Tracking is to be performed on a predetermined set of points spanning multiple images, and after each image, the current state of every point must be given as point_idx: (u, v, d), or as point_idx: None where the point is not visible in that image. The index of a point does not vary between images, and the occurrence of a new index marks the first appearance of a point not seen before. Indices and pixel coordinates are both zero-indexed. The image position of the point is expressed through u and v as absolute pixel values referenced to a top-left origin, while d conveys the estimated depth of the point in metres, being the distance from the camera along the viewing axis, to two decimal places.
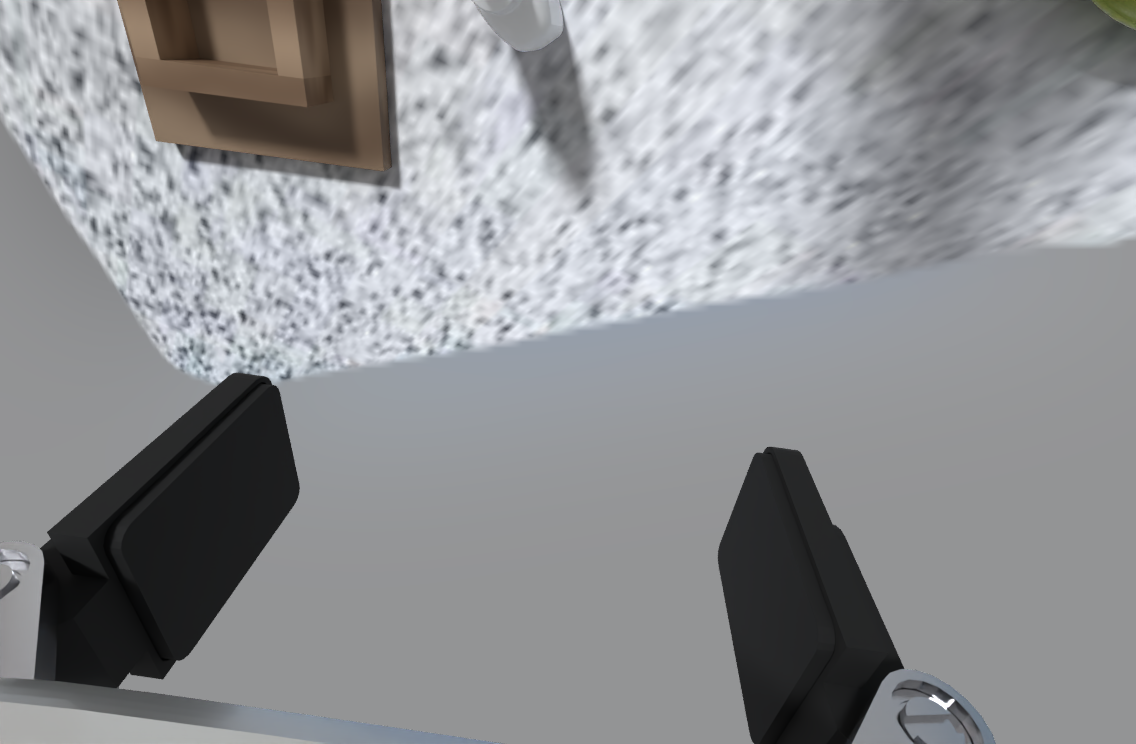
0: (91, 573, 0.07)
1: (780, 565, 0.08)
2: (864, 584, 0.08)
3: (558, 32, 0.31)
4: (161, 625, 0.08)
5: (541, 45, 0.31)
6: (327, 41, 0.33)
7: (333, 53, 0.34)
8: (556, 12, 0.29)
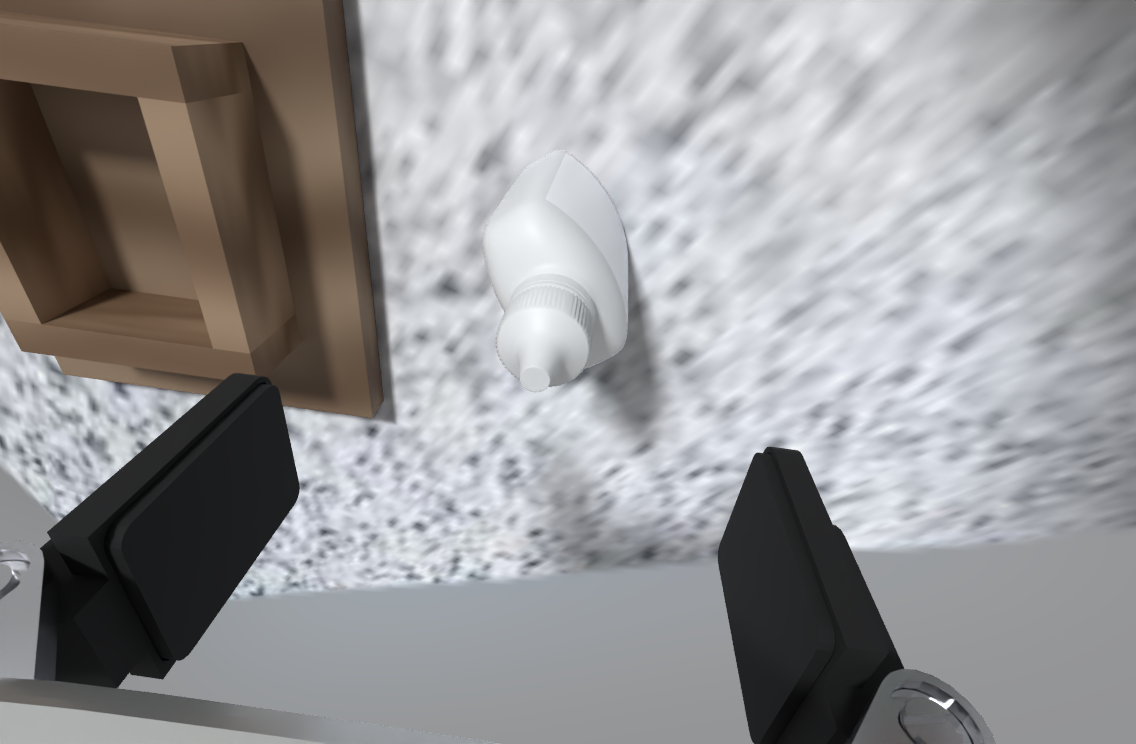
0: (91, 573, 0.07)
1: (780, 565, 0.08)
2: (864, 584, 0.08)
3: None
4: (161, 625, 0.08)
5: None
6: (287, 275, 0.23)
7: (297, 289, 0.24)
8: (627, 280, 0.19)
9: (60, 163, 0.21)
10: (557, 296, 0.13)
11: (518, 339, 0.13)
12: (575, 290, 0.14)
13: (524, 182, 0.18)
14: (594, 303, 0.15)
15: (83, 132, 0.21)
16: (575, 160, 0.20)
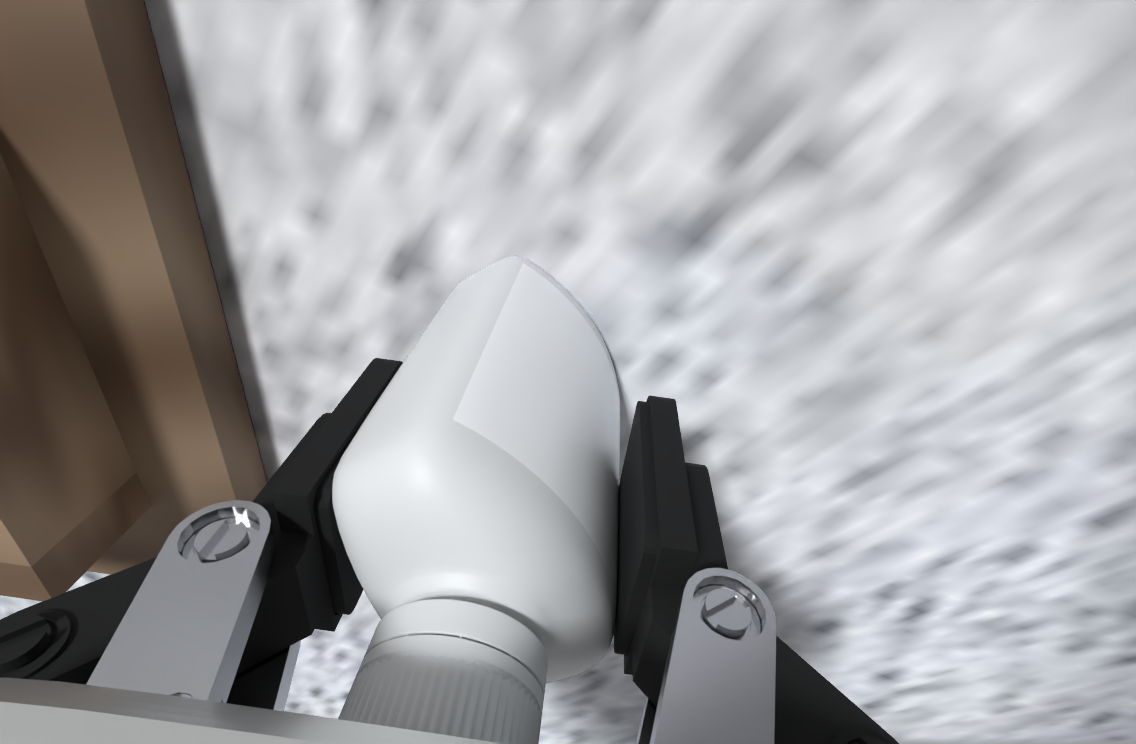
0: (300, 530, 0.08)
1: (637, 492, 0.09)
2: (714, 511, 0.09)
3: None
4: (342, 580, 0.09)
5: None
6: (115, 425, 0.16)
7: (134, 443, 0.16)
8: (617, 480, 0.12)
9: None
10: (449, 711, 0.06)
11: None
12: (501, 644, 0.07)
13: (438, 339, 0.10)
14: (548, 630, 0.08)
15: None
16: (537, 275, 0.13)
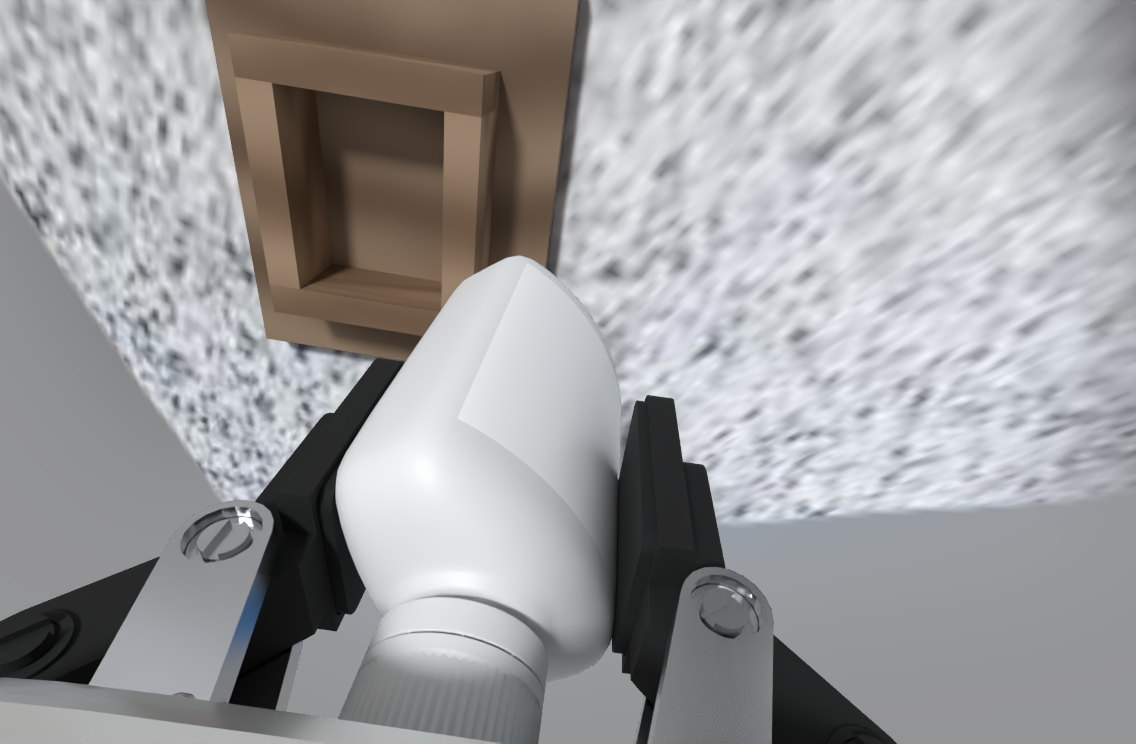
0: (303, 529, 0.08)
1: (635, 492, 0.09)
2: (712, 510, 0.09)
3: None
4: (344, 580, 0.09)
5: None
6: (488, 256, 0.28)
7: None
8: (618, 481, 0.12)
9: (320, 159, 0.26)
10: (452, 709, 0.06)
11: None
12: (503, 643, 0.07)
13: (442, 338, 0.10)
14: (549, 630, 0.08)
15: (348, 135, 0.26)
16: (541, 275, 0.13)
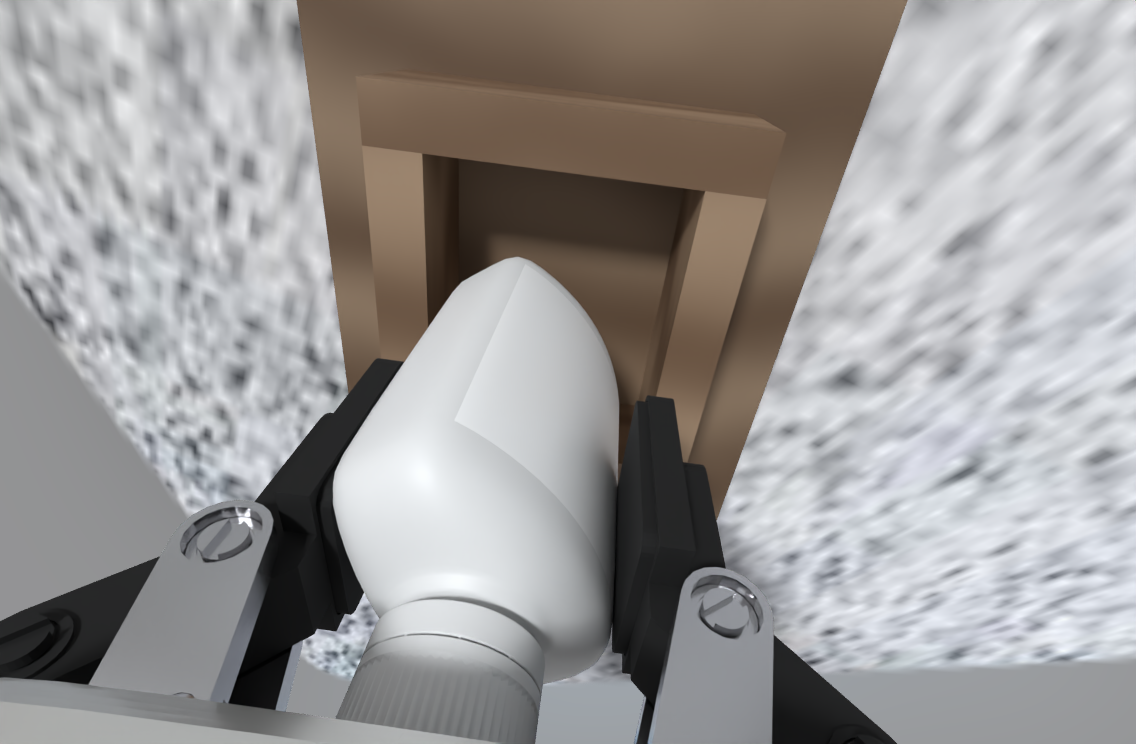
0: (303, 529, 0.08)
1: (635, 492, 0.09)
2: (712, 510, 0.09)
3: None
4: (344, 580, 0.09)
5: None
6: None
7: None
8: (616, 483, 0.12)
9: (456, 246, 0.18)
10: (447, 710, 0.06)
11: None
12: (500, 645, 0.07)
13: (440, 339, 0.10)
14: (546, 632, 0.08)
15: (501, 213, 0.17)
16: (539, 276, 0.13)
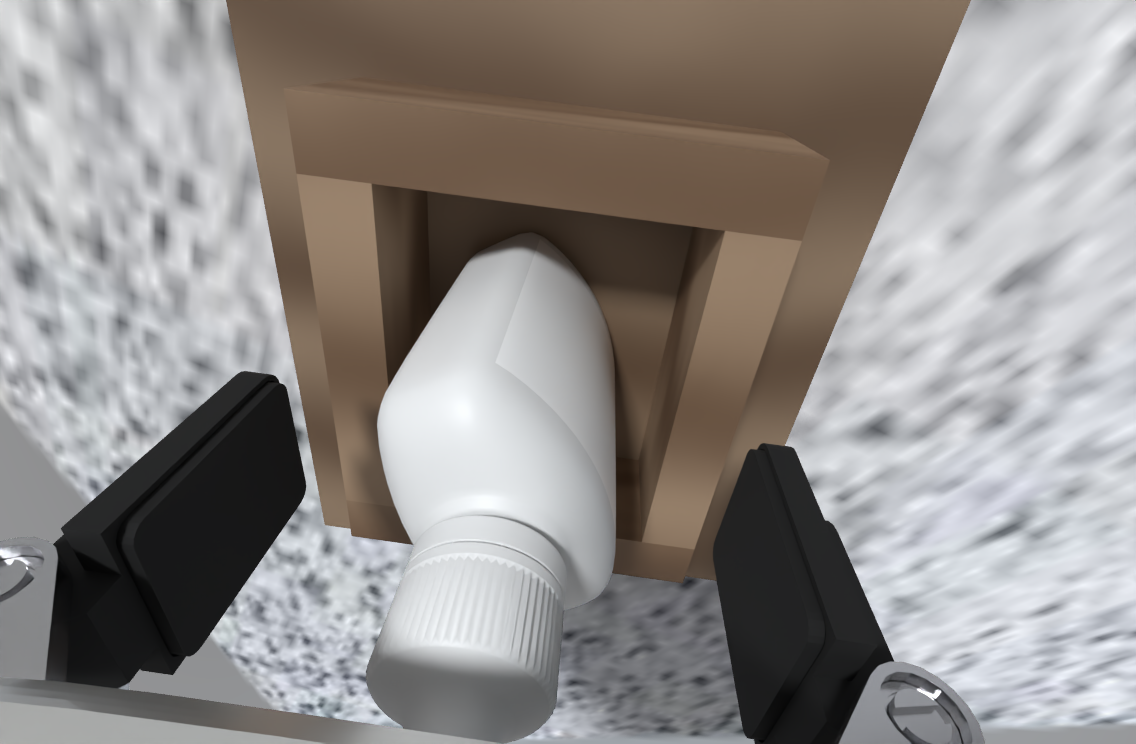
0: (103, 569, 0.07)
1: (772, 560, 0.08)
2: (856, 579, 0.08)
3: None
4: (171, 621, 0.08)
5: None
6: None
7: None
8: (615, 444, 0.13)
9: (427, 283, 0.15)
10: (497, 599, 0.07)
11: (406, 699, 0.06)
12: (534, 556, 0.08)
13: (468, 298, 0.11)
14: (567, 554, 0.09)
15: (479, 246, 0.15)
16: (552, 251, 0.14)
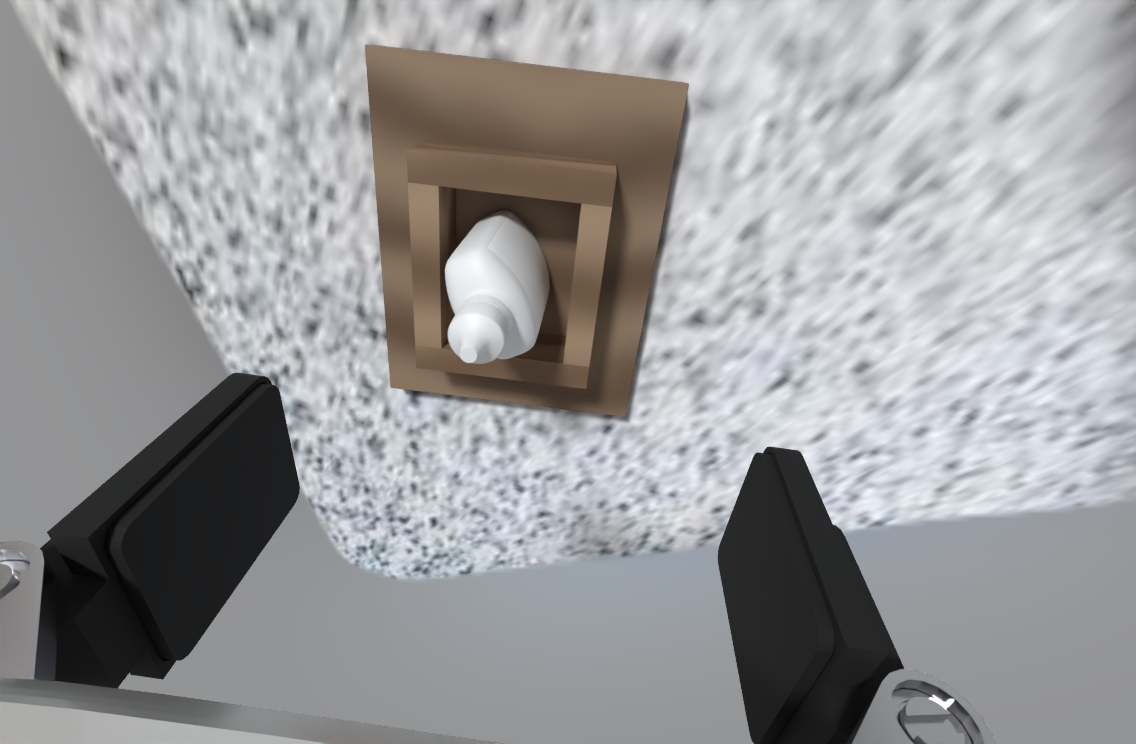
0: (91, 573, 0.07)
1: (780, 565, 0.08)
2: (864, 584, 0.08)
3: None
4: (161, 625, 0.08)
5: None
6: None
7: (598, 322, 0.33)
8: (543, 303, 0.28)
9: (455, 237, 0.31)
10: (487, 308, 0.22)
11: (460, 332, 0.22)
12: (499, 305, 0.23)
13: (476, 232, 0.27)
14: (512, 315, 0.24)
15: (480, 217, 0.30)
16: (515, 218, 0.29)
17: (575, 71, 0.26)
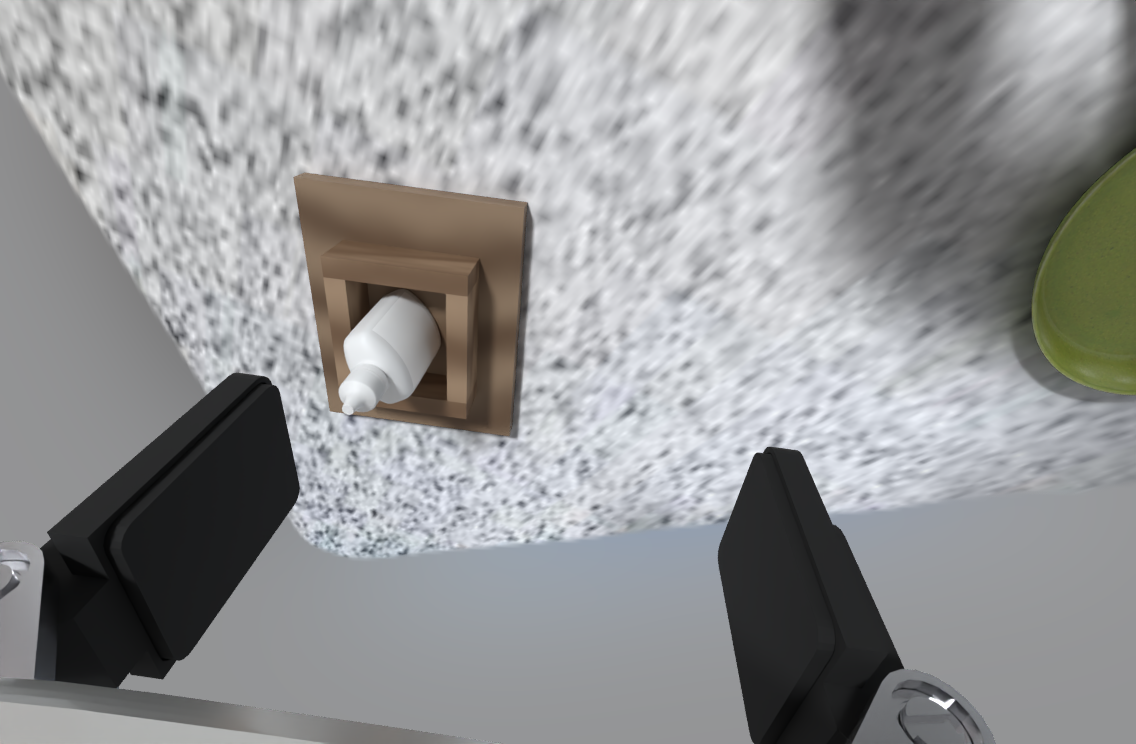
0: (91, 573, 0.07)
1: (780, 565, 0.08)
2: (864, 584, 0.08)
3: None
4: (161, 625, 0.08)
5: None
6: (477, 360, 0.44)
7: (481, 367, 0.44)
8: (425, 360, 0.39)
9: (368, 305, 0.42)
10: (365, 376, 0.33)
11: (345, 392, 0.33)
12: (376, 372, 0.34)
13: (372, 313, 0.37)
14: (389, 377, 0.35)
15: (386, 292, 0.41)
16: (409, 295, 0.40)
17: (443, 198, 0.37)
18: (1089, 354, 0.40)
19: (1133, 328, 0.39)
